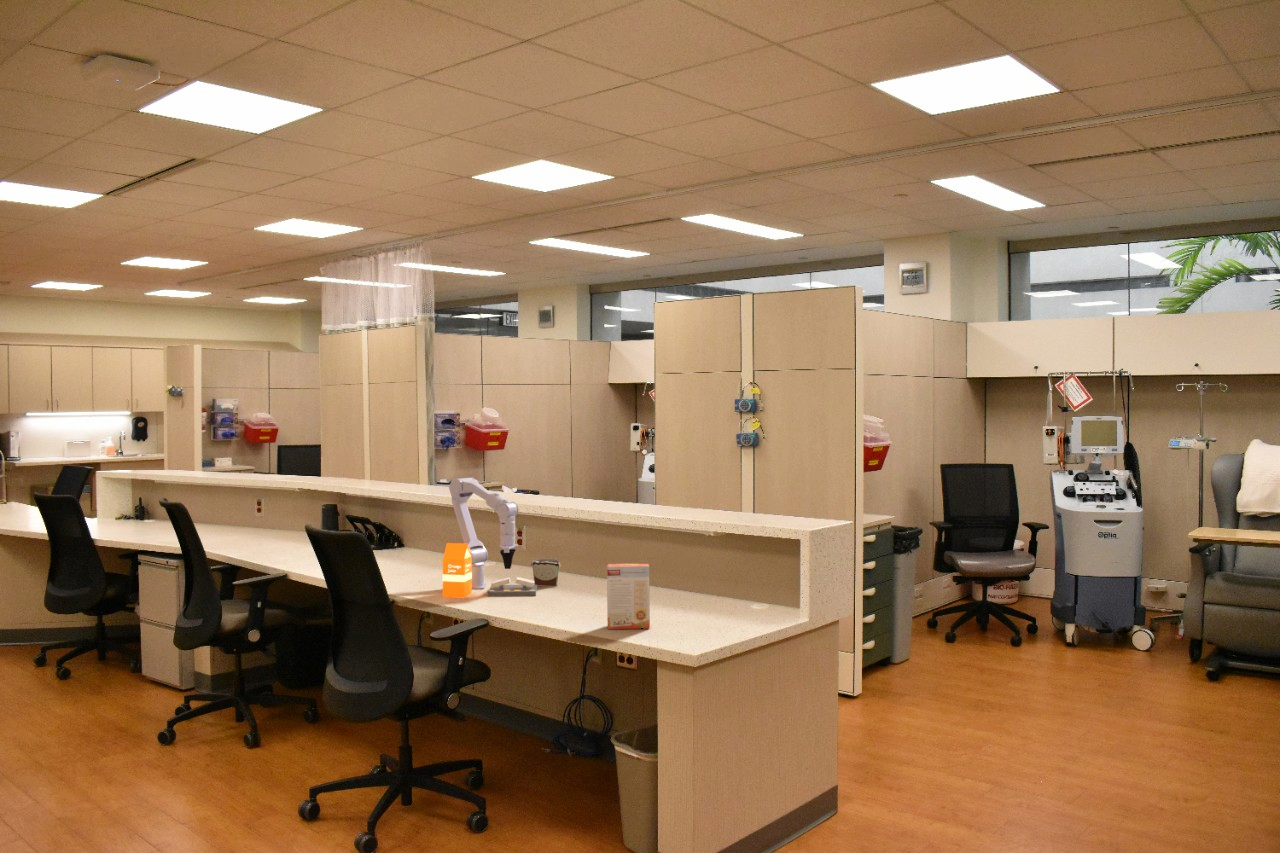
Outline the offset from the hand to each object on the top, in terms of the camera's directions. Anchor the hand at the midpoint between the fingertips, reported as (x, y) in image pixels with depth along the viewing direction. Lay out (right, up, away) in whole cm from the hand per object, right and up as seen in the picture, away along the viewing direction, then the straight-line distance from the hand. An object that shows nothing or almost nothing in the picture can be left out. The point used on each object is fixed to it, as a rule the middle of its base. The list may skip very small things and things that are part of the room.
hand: (507, 568), depth 372 cm
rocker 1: (-2, -6, 0) cm, 7 cm away
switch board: (+2, -9, 0) cm, 10 cm away
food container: (+14, -9, +16) cm, 23 cm away
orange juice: (-19, -10, -5) cm, 22 cm away
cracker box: (+48, -11, -56) cm, 74 cm away
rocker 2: (+7, -6, +1) cm, 9 cm away
